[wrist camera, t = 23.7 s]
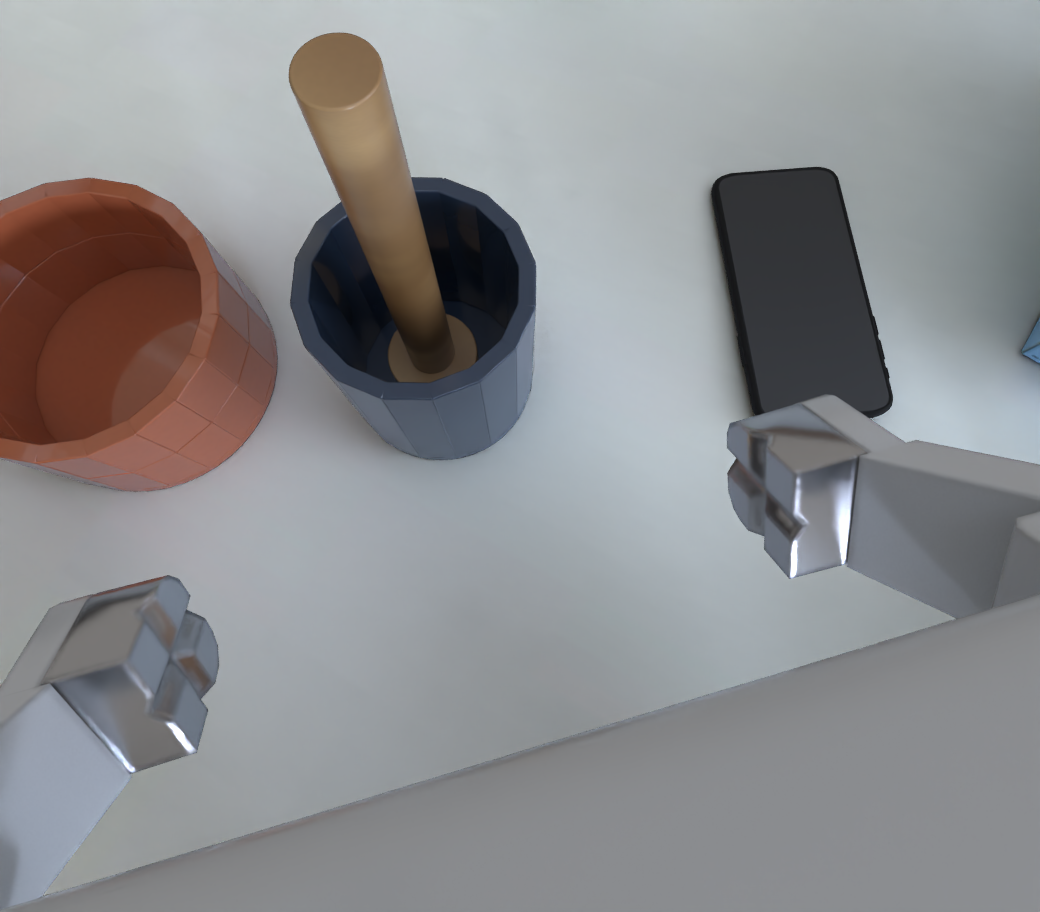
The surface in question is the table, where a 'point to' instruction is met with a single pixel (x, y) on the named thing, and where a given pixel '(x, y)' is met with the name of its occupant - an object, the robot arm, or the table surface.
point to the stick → (379, 199)
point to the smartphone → (798, 291)
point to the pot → (123, 339)
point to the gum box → (1033, 344)
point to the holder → (466, 296)
